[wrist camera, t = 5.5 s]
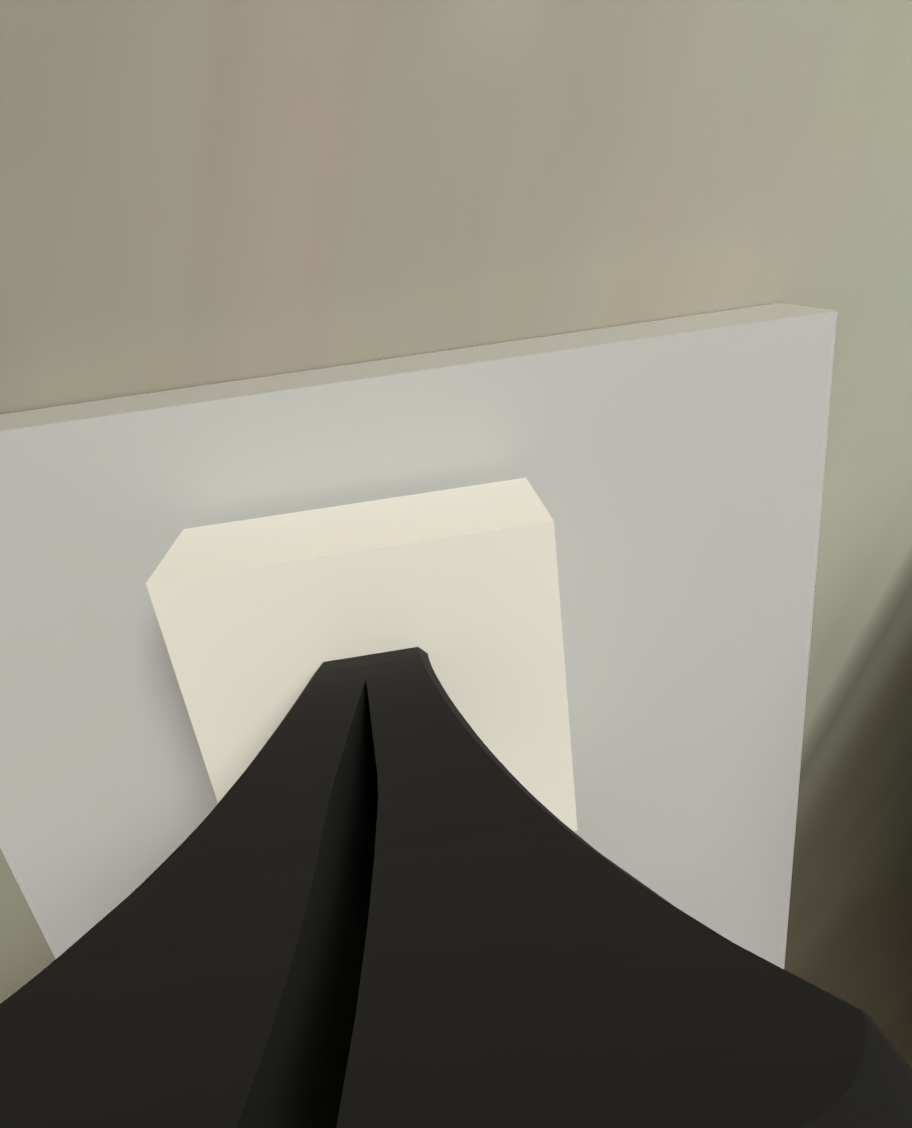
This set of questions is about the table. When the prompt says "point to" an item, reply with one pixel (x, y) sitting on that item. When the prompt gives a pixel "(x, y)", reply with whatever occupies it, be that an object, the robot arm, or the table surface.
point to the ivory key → (376, 620)
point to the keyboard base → (425, 464)
